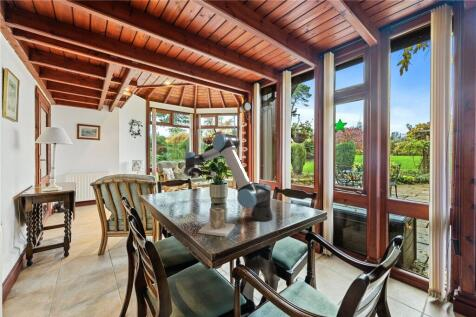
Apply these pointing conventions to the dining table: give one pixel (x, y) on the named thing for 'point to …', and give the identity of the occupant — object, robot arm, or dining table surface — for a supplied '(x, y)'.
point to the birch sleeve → (217, 218)
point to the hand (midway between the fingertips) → (206, 174)
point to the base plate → (219, 232)
